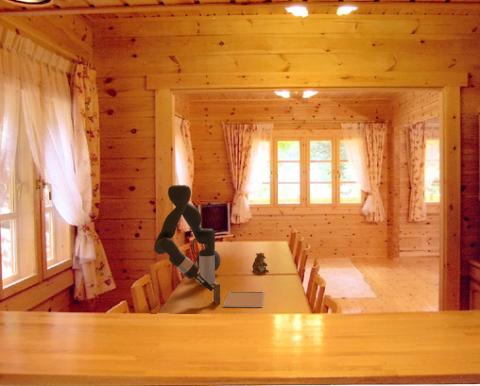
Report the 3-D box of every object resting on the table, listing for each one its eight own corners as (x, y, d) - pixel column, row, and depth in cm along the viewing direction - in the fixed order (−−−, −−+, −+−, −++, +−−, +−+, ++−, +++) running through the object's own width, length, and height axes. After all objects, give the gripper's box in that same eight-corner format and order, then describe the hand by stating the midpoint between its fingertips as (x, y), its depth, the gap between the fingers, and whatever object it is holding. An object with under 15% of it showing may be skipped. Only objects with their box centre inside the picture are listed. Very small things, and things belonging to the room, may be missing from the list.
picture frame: (262, 308, 205) (264, 293, 233) (262, 306, 205) (264, 291, 233) (222, 308, 207) (229, 293, 235) (222, 306, 207) (229, 291, 234)
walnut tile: (216, 304, 213) (216, 284, 212) (213, 301, 218) (213, 281, 218) (220, 303, 213) (220, 284, 213) (217, 300, 219) (217, 281, 219)
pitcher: (218, 276, 274) (217, 230, 273) (190, 276, 277) (189, 230, 277) (222, 273, 285) (221, 228, 284) (194, 272, 288) (193, 228, 287)
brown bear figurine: (256, 274, 279) (256, 254, 279) (248, 270, 292) (247, 251, 292) (270, 272, 283) (269, 253, 283) (261, 269, 296) (261, 250, 296)
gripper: (195, 264, 205) (220, 286, 209) (190, 259, 218) (214, 281, 222) (184, 275, 204) (210, 298, 208) (180, 270, 217) (204, 292, 221)
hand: (212, 289), depth 215 cm, fingers closed
